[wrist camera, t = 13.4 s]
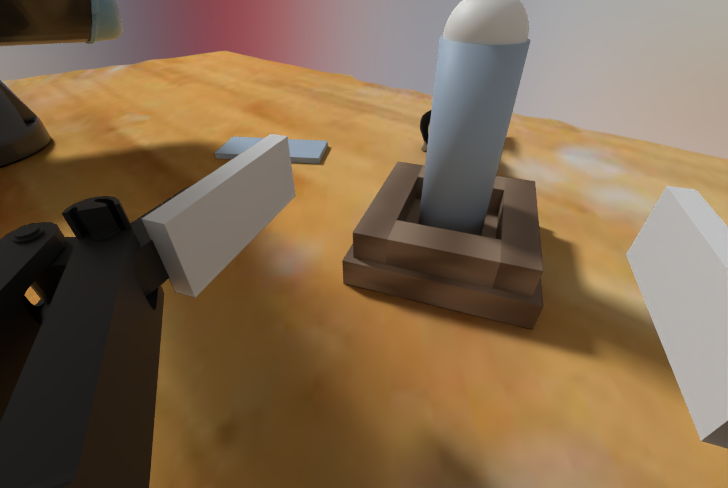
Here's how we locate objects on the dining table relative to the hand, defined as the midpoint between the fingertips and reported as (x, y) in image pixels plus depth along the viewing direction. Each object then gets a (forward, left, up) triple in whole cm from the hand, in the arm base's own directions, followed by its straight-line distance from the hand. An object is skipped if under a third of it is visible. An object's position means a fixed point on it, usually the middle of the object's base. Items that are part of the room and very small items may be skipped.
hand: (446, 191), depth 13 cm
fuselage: (0, +10, -8) cm, 13 cm away
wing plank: (-22, +22, -11) cm, 33 cm away
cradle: (0, +10, -10) cm, 14 cm away
